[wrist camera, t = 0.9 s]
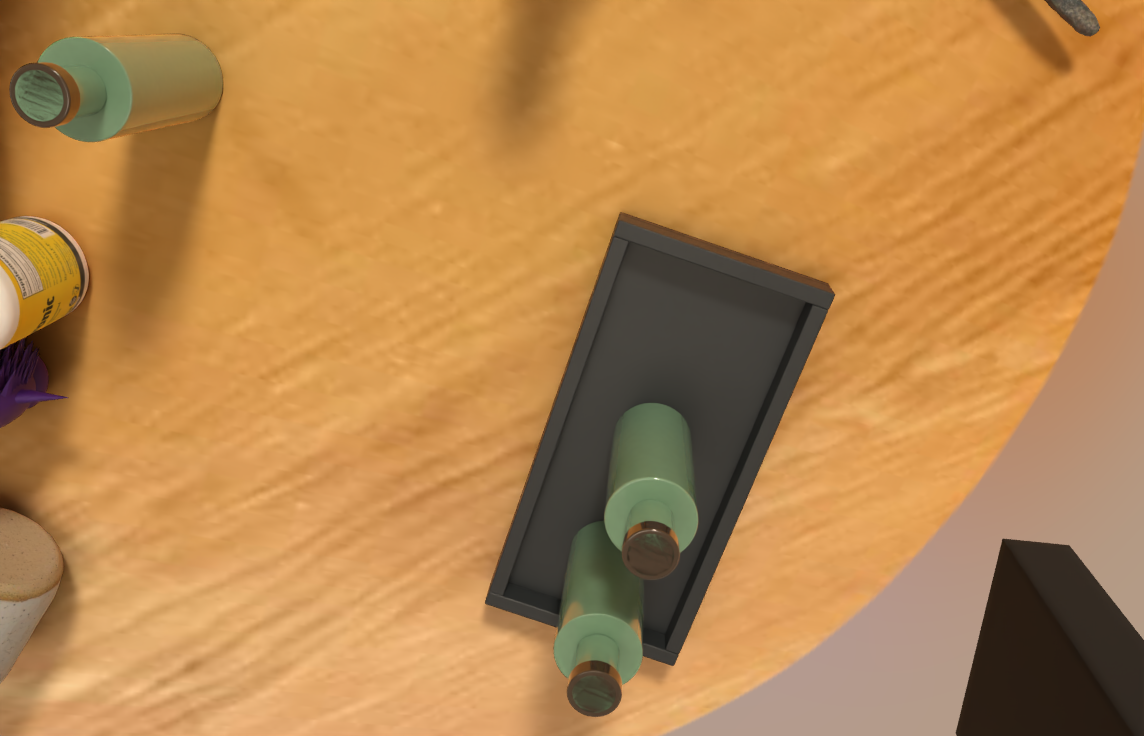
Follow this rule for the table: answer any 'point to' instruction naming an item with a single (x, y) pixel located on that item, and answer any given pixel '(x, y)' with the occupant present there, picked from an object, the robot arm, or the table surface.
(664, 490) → the tray bottle
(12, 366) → the creature
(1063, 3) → the artifact
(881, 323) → the table surface
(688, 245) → the tray
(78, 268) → the supplement bottle
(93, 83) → the loose bottle
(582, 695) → the tray bottle
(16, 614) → the ceramic mug
